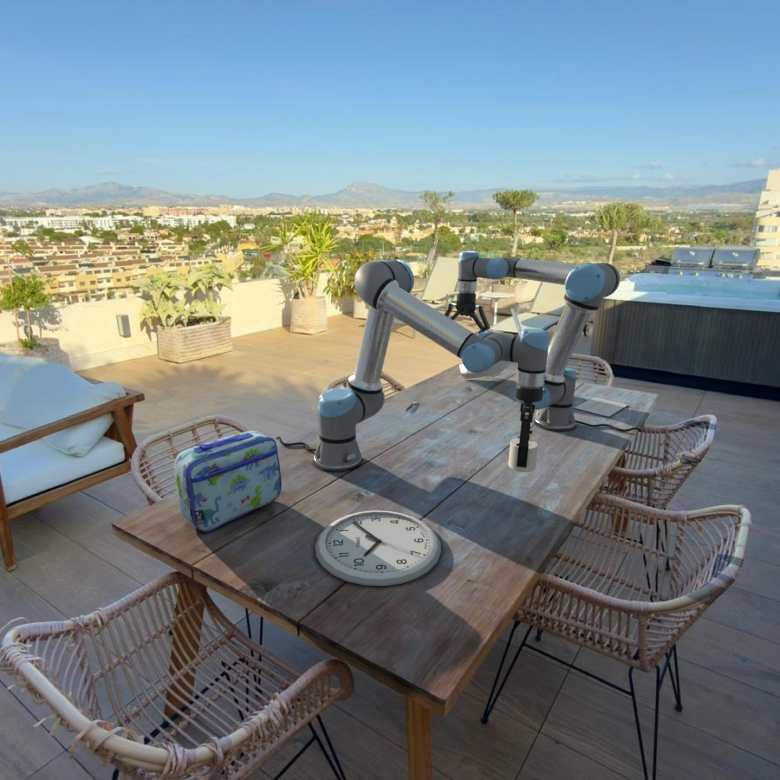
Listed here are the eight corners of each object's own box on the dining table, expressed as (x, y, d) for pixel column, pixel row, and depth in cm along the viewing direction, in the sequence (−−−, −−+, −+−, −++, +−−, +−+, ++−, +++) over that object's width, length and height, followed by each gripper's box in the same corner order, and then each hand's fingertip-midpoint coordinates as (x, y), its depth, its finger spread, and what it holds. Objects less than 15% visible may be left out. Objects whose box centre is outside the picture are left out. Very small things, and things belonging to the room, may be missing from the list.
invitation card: (608, 416, 214) (573, 407, 224) (608, 416, 214) (573, 408, 224) (628, 404, 229) (594, 396, 238) (628, 405, 229) (594, 397, 238)
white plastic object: (480, 421, 262) (459, 398, 238) (462, 347, 285) (440, 320, 260) (552, 397, 250) (537, 370, 226) (527, 322, 272) (511, 290, 248)
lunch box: (194, 540, 125) (185, 461, 119) (175, 522, 133) (166, 447, 126) (286, 503, 143) (282, 432, 137) (265, 489, 150) (261, 421, 144)
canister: (525, 459, 157) (527, 436, 155) (540, 470, 150) (543, 446, 148) (503, 462, 154) (505, 439, 152) (518, 473, 147) (520, 450, 145)
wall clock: (452, 576, 112) (311, 582, 109) (452, 583, 112) (311, 589, 109) (430, 505, 140) (317, 508, 138) (430, 510, 141) (318, 514, 138)
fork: (403, 411, 216) (403, 406, 215) (414, 400, 230) (414, 395, 230) (409, 412, 215) (409, 407, 215) (420, 400, 229) (420, 396, 229)
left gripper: (543, 397, 134) (534, 477, 141) (544, 376, 153) (536, 448, 160) (513, 394, 136) (506, 473, 143) (518, 374, 155) (511, 445, 162)
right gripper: (433, 290, 207) (431, 343, 214) (495, 295, 197) (490, 350, 203) (440, 289, 214) (438, 340, 220) (500, 293, 203) (496, 346, 210)
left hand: (522, 460), depth 151 cm, fingers closed on canister, 8 cm apart
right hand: (463, 345), depth 212 cm, fingers open, 13 cm apart
